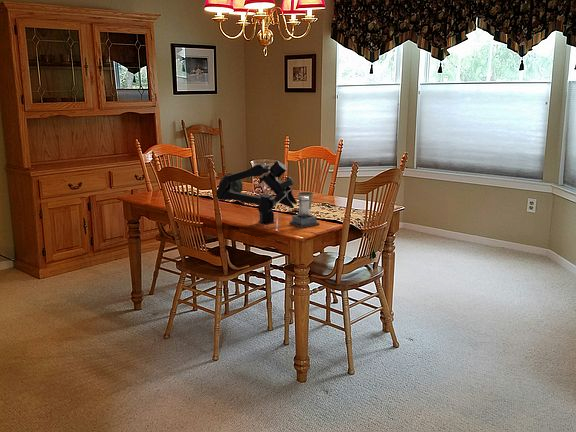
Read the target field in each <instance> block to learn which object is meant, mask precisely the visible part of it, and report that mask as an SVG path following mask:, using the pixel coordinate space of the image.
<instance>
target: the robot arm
mask: <svg viewBox="0 0 576 432" xmlns="http://www.w3.org/2000/svg"><path fill="white" fill-rule="evenodd" d="M287 170H288V168H287V166H286V164H284V163H283V162H281V161H279V160H276V161H275V162H274V164H272V165H271V166H269V165H266V164H265V163H263V162H260V163H258V164H256V165H253V166H251V167H250V168H248V169H246V170H242V171H239V172H235V173H231V174H232V175H227V174H226V175H227V176H225V175H224V176H225V177H224V176H223V177H224V179H223V181H222V183H221V184H220V186H219V185H218V187H217V189H216V190H217V197H218V199H217V200H218V201H229V200H233V201H237V202H243V203H247V204H252V205H256V206H258V208H257V209H258V213H259V220H258V223H259V224H262V225H268V224H274V223H275V214H274V208H275V207H276V205H277V204H281V205H282V206H283V205H284V206H286V207H288V208H290V209H294V208H295V206H294V205H297V204H298V202H297V199H295V197H294V194H293V187H292V186H293V185H294V184H295V181H294V179H293V177H290V176H287V177H286V178H285V180H283V181H282V180H278V178H281V176H282V175H284V173H286V172H287ZM251 177H252V178H255V177H259V178H258V179H259V184H262V183H263V182H264V183H265V185H266V186H267V187H268V188H269V190H270V192H273V193H274V194H275V196H273V195H272V194H267V193H263V194H261V195H260V196H259V195H253V194H250V193H244V192H240V193H239V192H234V191H233V190H231V189H230V188H231V184H232V182H234V181H237V180H243V179H247V178H251Z"/></svg>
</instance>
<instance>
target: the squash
mask: <svg viewBox="0 0 576 432" xmlns="http://www.w3.org/2000/svg"><path fill="white" fill-rule="evenodd" d="M232 174H233V173H229V172H228V173H226V174H225V175H224V176H223V177H222V178H220V180H219V183H218V187H219V186H220V184H221V183H222V181H223V179H224V177H225V176H227V175H232ZM243 187H244V185H243V181H242V179H240V180H237V181H234V182H232V184H231V188H230V189H231V190H233V191H234V192H239V193H242V191H243Z"/></svg>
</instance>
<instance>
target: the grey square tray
mask: <svg viewBox="0 0 576 432" xmlns="http://www.w3.org/2000/svg"><path fill="white" fill-rule="evenodd" d="M291 217H292V220H290V221H289V224H290V225H292V226H296V227H298V228H300V229H302V228H308V227H314V226H320V222H318V221H317V216H314V215H312V214H311V213H309V218H303V219H301V218H299V214H295V215H292V216H291Z"/></svg>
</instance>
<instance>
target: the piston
mask: <svg viewBox="0 0 576 432" xmlns="http://www.w3.org/2000/svg"><path fill="white" fill-rule="evenodd" d="M298 203H299V204H298V215H299V218H301V219H303V218H309V214H310V209H309V197H308V196H300V197H298Z"/></svg>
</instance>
